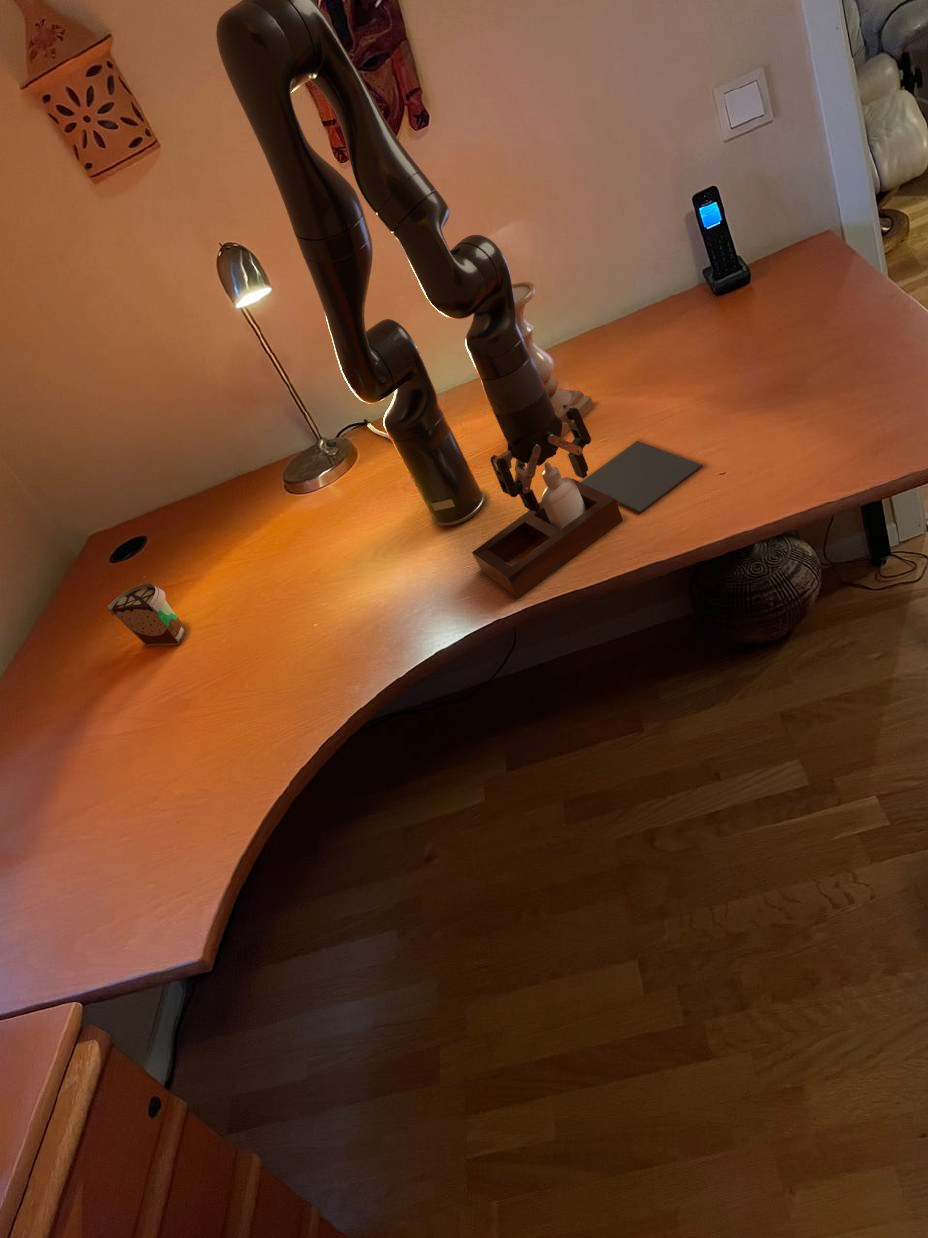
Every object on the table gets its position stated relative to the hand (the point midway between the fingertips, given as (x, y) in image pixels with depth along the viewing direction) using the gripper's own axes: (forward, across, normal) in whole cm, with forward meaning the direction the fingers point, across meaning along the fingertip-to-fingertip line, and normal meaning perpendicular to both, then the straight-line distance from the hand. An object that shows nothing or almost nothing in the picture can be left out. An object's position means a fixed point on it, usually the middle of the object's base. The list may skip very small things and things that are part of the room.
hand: (559, 493), depth 119 cm
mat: (+7, -14, -2) cm, 15 cm away
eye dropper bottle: (+7, 0, 0) cm, 7 cm away
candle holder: (+7, -18, -30) cm, 36 cm away
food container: (+6, +60, -48) cm, 77 cm away
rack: (+7, +4, 0) cm, 8 cm away
